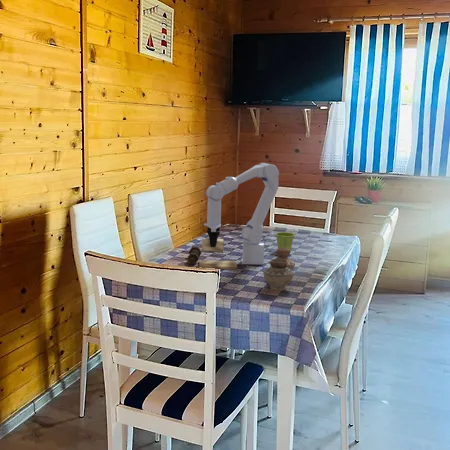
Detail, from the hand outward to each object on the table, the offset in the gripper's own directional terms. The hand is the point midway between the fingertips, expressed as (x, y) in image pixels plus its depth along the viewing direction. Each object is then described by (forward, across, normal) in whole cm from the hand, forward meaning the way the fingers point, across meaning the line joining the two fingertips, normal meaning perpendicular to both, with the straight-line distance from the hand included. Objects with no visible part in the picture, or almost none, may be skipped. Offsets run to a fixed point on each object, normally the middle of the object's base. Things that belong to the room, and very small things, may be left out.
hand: (213, 245), depth 233 cm
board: (+8, +2, +2) cm, 9 cm away
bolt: (+9, -6, -8) cm, 14 cm away
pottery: (+9, +26, +26) cm, 38 cm away
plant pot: (+8, -29, +34) cm, 46 cm away
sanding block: (+3, 0, 0) cm, 3 cm away
